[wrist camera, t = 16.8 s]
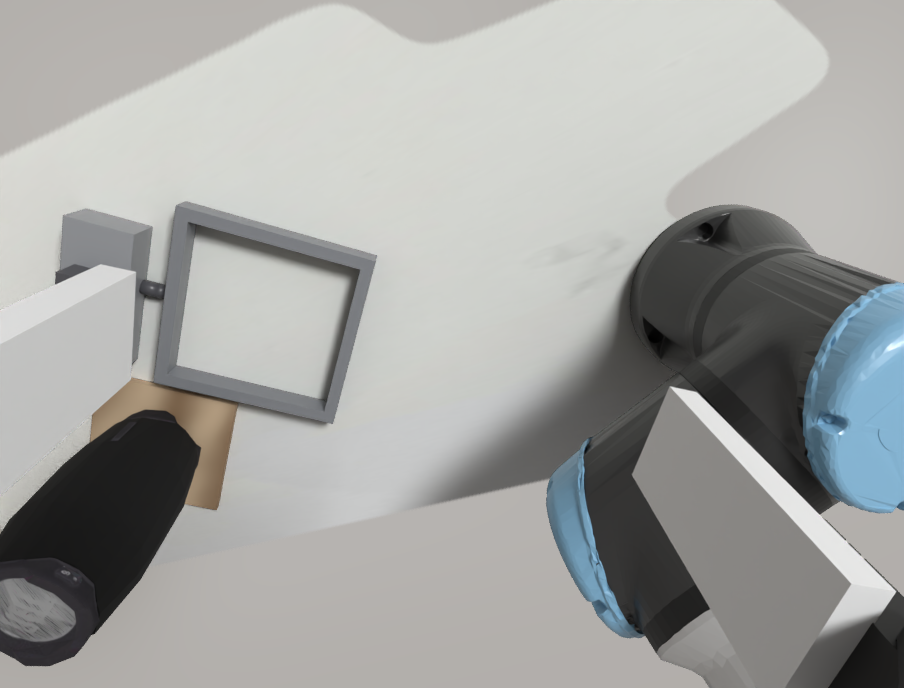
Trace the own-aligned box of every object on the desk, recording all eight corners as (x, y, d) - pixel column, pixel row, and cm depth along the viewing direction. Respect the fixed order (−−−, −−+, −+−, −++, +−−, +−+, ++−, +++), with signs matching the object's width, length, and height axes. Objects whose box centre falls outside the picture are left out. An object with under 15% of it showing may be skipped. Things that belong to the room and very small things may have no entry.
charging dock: (377, 255, 47) (375, 261, 45) (335, 412, 53) (332, 423, 51) (145, 190, 44) (134, 193, 42) (127, 363, 50) (115, 373, 48)
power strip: (152, 226, 45) (118, 241, 40) (137, 358, 49) (104, 387, 44) (86, 208, 44) (42, 221, 39) (76, 344, 49) (36, 371, 43)
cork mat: (238, 402, 52) (236, 405, 51) (218, 506, 56) (216, 510, 55) (99, 370, 50) (96, 373, 49) (89, 480, 54) (86, 484, 53)
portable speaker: (199, 494, 54) (91, 685, 36) (98, 467, 53) (-69, 653, 35) (220, 421, 52) (114, 589, 34) (113, 390, 50) (-60, 549, 32)
